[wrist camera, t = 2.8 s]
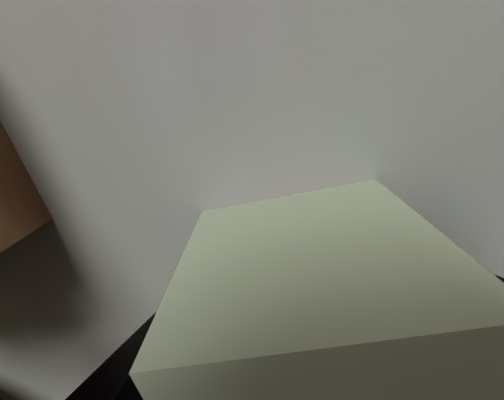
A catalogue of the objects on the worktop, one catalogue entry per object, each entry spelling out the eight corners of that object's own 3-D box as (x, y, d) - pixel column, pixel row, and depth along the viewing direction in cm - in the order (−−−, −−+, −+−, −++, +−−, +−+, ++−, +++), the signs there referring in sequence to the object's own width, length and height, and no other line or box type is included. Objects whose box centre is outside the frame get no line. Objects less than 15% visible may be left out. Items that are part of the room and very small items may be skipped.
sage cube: (374, 178, 8) (548, 318, 3) (380, 312, 10) (495, 527, 5) (202, 210, 8) (128, 373, 4) (240, 332, 10) (224, 542, 5)
